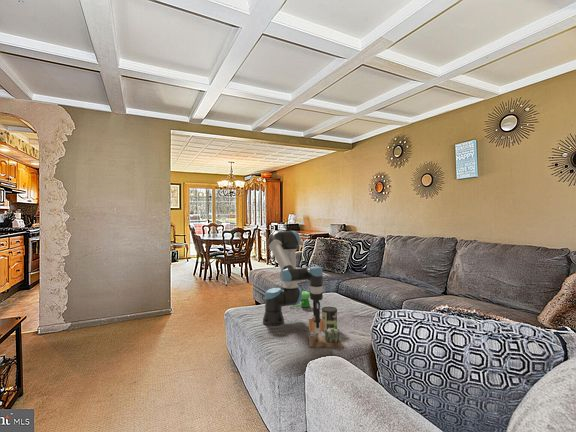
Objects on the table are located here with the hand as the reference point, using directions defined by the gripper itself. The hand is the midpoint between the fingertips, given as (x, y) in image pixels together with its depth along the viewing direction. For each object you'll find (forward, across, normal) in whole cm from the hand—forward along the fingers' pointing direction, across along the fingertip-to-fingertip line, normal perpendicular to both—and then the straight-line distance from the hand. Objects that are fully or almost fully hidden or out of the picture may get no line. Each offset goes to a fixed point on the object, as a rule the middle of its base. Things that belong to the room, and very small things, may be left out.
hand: (316, 329), depth 182 cm
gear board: (+8, 0, -5) cm, 9 cm away
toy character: (+8, +68, +7) cm, 68 cm away
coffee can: (+8, +19, -10) cm, 23 cm away
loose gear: (0, 0, 0) cm, 0 cm away
